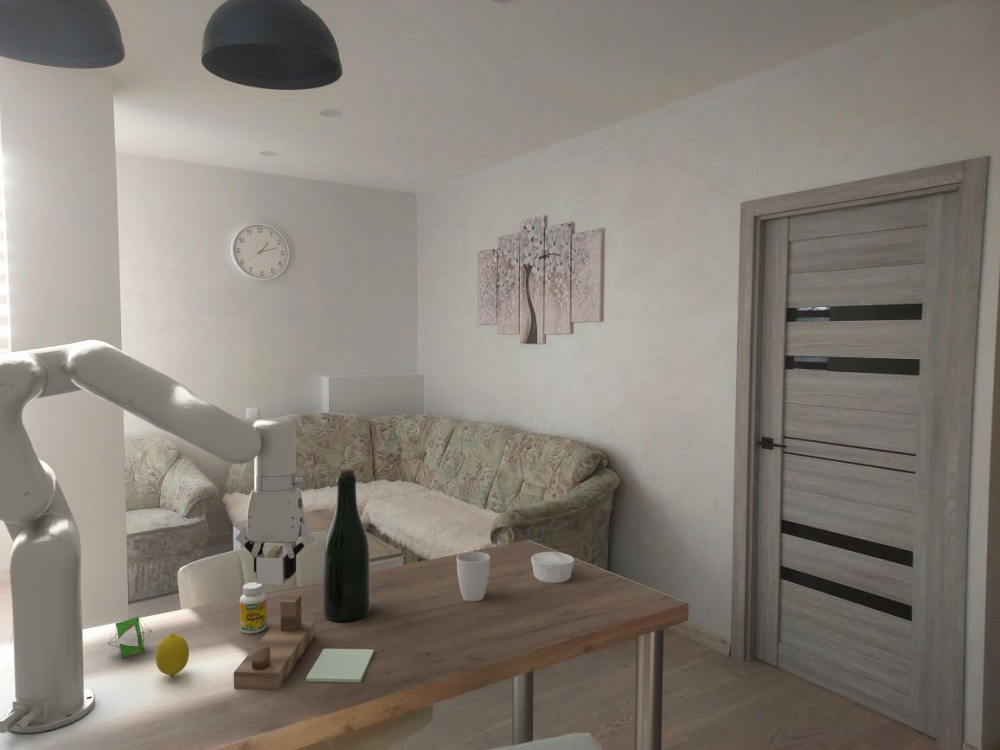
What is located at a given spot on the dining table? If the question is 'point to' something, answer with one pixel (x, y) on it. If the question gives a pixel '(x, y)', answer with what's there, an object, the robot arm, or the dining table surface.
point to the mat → (340, 665)
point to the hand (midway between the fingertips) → (275, 575)
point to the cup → (473, 574)
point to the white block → (271, 566)
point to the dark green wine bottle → (346, 557)
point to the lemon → (172, 654)
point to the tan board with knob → (276, 649)
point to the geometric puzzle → (129, 637)
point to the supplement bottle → (253, 609)
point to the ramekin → (552, 566)
